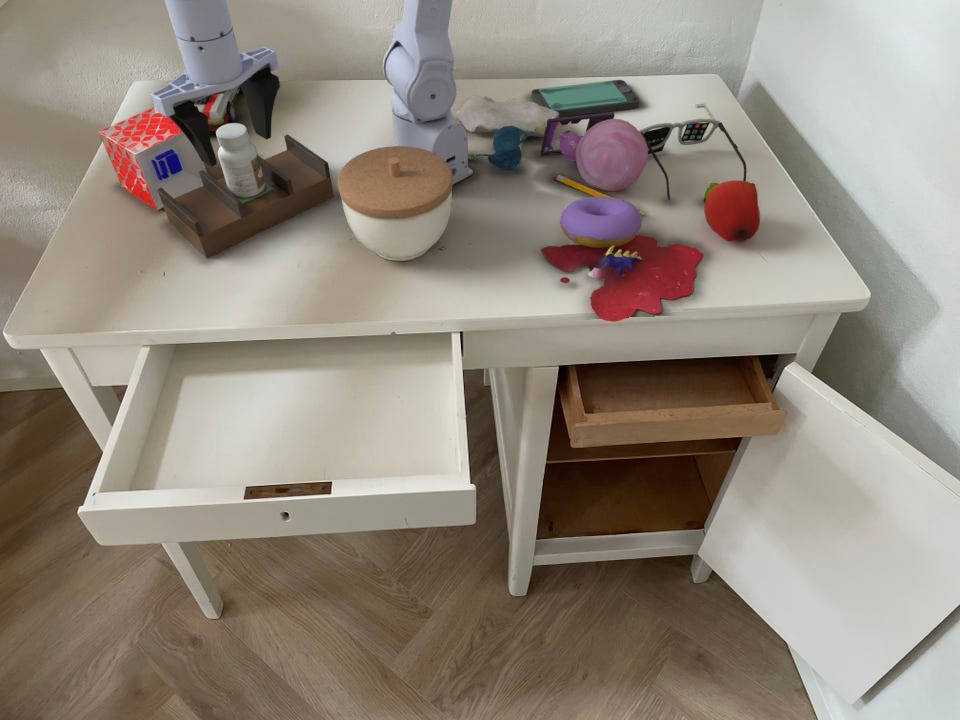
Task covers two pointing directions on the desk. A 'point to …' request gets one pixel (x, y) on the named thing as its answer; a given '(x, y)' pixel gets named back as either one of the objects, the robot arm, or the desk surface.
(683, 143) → the smart glasses
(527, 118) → the stone
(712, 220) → the apple
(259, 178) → the pill bottle
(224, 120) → the toy car
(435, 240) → the lidded bowl
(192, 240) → the divided wooden tray
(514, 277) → the desk surface
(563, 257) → the red splat with dinosaur
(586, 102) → the smartphone
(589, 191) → the pencil
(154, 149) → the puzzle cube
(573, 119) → the purple rectangular frame
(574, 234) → the donut
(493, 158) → the blue flowers
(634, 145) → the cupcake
